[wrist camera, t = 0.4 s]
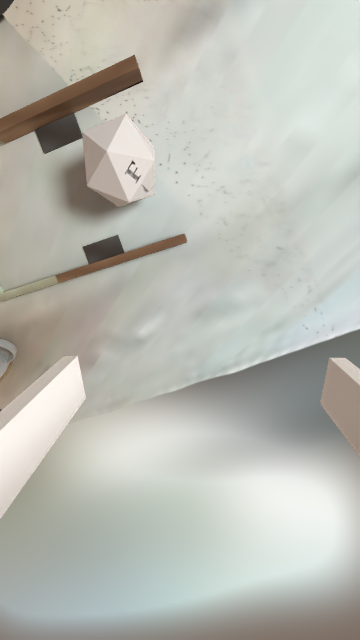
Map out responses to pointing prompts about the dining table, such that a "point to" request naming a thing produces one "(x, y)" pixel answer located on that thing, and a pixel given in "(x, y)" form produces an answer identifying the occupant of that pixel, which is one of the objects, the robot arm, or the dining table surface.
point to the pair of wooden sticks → (61, 129)
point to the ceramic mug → (6, 357)
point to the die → (119, 161)
